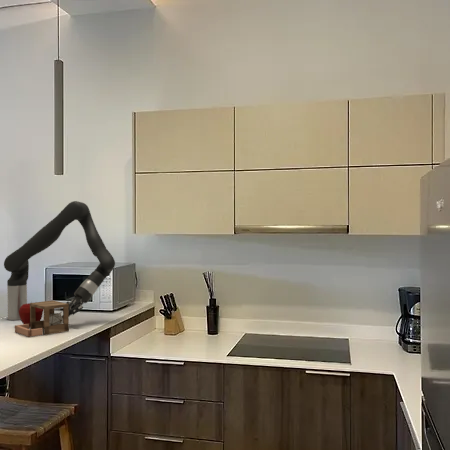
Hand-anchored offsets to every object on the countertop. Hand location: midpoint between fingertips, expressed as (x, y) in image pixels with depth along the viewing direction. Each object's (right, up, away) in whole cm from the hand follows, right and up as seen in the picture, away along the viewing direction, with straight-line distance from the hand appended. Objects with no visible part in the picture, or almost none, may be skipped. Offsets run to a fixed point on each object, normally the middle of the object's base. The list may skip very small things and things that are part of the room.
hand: (62, 320), depth 235 cm
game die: (-3, -4, -3) cm, 6 cm away
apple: (-17, -4, +6) cm, 18 cm away
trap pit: (-11, -4, -11) cm, 16 cm away
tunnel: (-5, -4, -4) cm, 7 cm away
